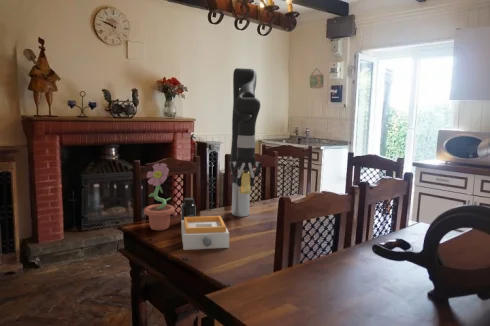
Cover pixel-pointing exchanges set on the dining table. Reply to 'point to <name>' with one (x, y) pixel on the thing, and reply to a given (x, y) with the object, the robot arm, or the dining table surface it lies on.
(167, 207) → the decorative flower
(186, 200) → the supplement bottle
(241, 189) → the oil can
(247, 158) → the robot arm
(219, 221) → the white box with knob
